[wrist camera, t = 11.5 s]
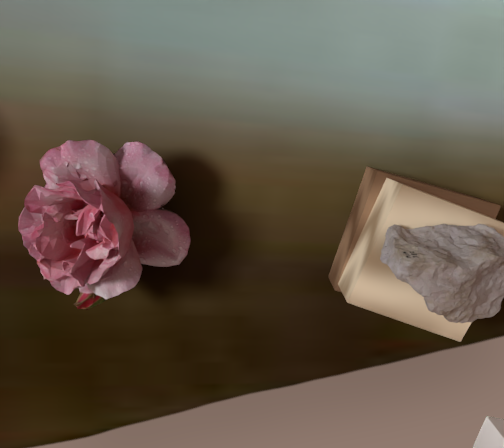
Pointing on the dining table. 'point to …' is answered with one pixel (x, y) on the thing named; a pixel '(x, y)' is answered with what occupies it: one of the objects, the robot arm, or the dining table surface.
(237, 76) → the dining table surface
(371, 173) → the tower base
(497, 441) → the robot arm
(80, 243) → the flower
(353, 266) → the tower top
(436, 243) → the stone
